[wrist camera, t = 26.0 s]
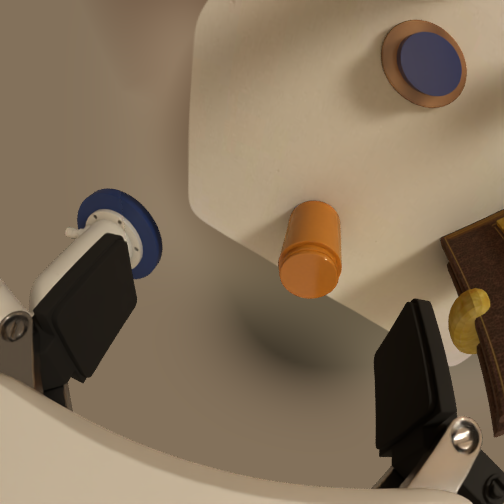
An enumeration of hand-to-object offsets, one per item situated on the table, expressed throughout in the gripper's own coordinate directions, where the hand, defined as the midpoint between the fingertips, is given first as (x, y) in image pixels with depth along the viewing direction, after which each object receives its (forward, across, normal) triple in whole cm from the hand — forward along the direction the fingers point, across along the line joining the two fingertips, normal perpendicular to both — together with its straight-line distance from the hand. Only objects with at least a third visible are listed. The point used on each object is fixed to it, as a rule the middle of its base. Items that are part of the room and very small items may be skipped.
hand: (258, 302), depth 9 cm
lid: (+24, -12, -11) cm, 29 cm away
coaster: (+26, -12, -11) cm, 31 cm away
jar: (+26, -3, +11) cm, 29 cm away
